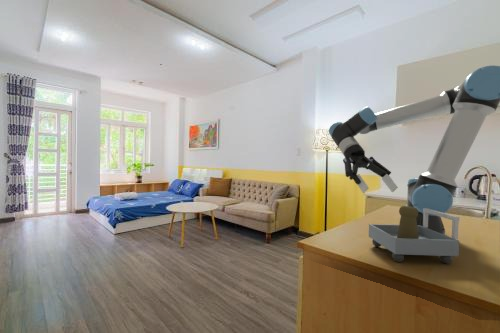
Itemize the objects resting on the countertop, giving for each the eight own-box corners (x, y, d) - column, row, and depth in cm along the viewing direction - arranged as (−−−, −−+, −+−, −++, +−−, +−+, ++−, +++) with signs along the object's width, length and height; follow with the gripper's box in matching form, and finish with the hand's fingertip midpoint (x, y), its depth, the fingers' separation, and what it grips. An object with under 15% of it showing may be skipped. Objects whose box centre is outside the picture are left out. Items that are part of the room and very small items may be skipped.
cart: (422, 246, 83) (423, 207, 83) (461, 266, 67) (463, 218, 67) (368, 244, 83) (369, 206, 83) (394, 264, 67) (396, 216, 67)
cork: (423, 244, 72) (424, 208, 72) (401, 242, 73) (402, 207, 73) (413, 238, 78) (414, 205, 78) (393, 236, 79) (394, 204, 79)
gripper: (369, 157, 104) (399, 195, 91) (322, 155, 97) (347, 197, 83) (380, 144, 99) (413, 183, 85) (331, 142, 91) (359, 183, 78)
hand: (380, 190), depth 84 cm, fingers open, 13 cm apart
